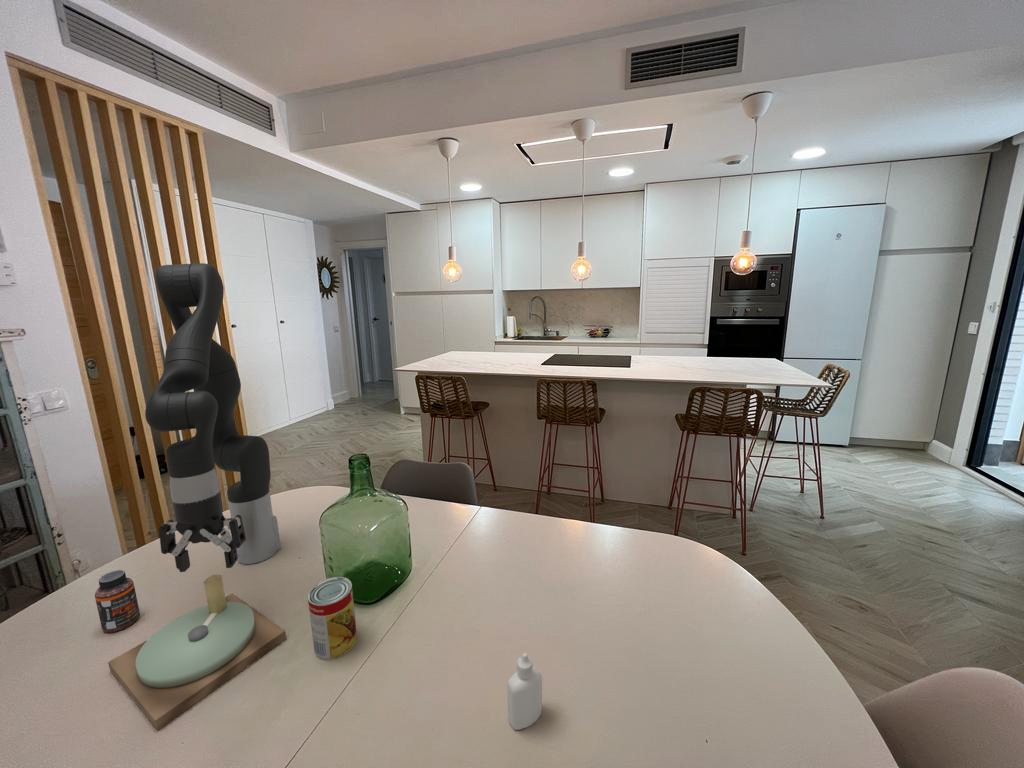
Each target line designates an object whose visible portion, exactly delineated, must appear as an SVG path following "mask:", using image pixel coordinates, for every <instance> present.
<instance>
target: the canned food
mask: <svg viewBox="0 0 1024 768" xmlns="http://www.w3.org/2000/svg"><path fill="white" fill-rule="evenodd" d="M353 592H354V591H353V583H352V581H351V580H350V579H349V578H347V577H344V576H335V577H334V576H333V577H328V578H326V579H325V578H324V579H323V580H321V581H319V582H318V583H316V584H315V585H313V586H312V587H311V588H310V589H309V591H308V594H307V601H308V602H307V604H308V611H309V619H310V620H309V621H310V627H311V636H312V641H313V642H312V643H313V644H312V645H313V649H314V654H315V655H316V656H315V657H317V658H319V659H321V660H325V661H327V660H330V661H332V660H334V659H337V658H340V656H341V657H343V656H344V655H346V654H347V653H349V652H350V651H351V650H352V649H353V647H354V646H355V645H356V642H357V640H358V632H357V623H356V614H355V613H356V612H355V602H354V593H353Z"/></svg>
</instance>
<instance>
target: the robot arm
mask: <svg viewBox="0 0 1024 768" xmlns="http://www.w3.org/2000/svg"><path fill="white" fill-rule="evenodd" d="M155 282H156V283H155V284H156V287H157V291H158V293H159V296H160V298H161V300H162V303H163V306H164V308H165V310H166V313H167V315H168V318H169V319H170V321H171V324H172V326H173V329H174V330H175V332H174V333H173V335H172V336H171V337H170V339H169V341H168V342H167V345H166V349H165V355H164V362H163V364H164V365H163V369H162V370H163V372H162V374H161V377H160V378H159V381H158V382H157V385H156V386H155V388H154V390H153V392H152V393H151V395H150V396H149V399H148V401H147V403H146V406H145V413H144V417H145V420H146V422H147V424H148V426H149V427H150V428H151V429H153V430H154V431H156V432H161V433H162V432H175V431H184V430H192V429H193V430H194V429H195V435H194V436H192V437H189V438H186V439H182V440H179V441H177V442H174V443H172V444H169V446H168V447H167V448H166V451H165V457H166V463H167V467H168V469H167V470H168V475H169V489H170V490H169V491H170V496H171V502H172V509H173V515H174V519H175V521H174V520H173V519H168V520H167V521H165V522H164V523H162V525H160V526H159V527H158V533H159V543H160V551H161V554H164V555H167V554H170V555H172V556H174V561H175V567H176V569H177V570H178V571H179V573H186V571H188V570H189V568H190V567H191V562H190V561H191V560H190V556H189V555H190V554H189V550H188V549H186V548H187V547H188V546H189V544H190V543H191V544H199V543H212V544H213V545H215V546H216V547H217V546H219V547H220V549H222V550H223V551H224V552H223V554H224V560H225V568H226V569H231V568H233V566H234V565H235V564H236V562H237V561H238V562H239V563H240V564H243V565H251V564H252V565H253V564H257V563H258V564H259V563H261V562H263V561H265V560H268V559H269V558H271V557H272V556H274V555H275V554H276V553H277V552H278V551H279V550H281V549H282V545H281V540H280V539H281V538H280V531H279V524H278V523H279V522H278V517H277V516H276V515H274V513H273V506H272V501H271V500H272V498H271V492H270V482H271V478H272V477H271V475H272V473H271V462H270V461H271V460H270V450H269V446H268V444H267V441H266V440H265V439H264V438H263V437H261V436H257V435H247V434H246V435H244V434H239V431H238V429H237V426H236V423H235V418H234V411H235V407H236V405H237V403H238V399H239V396H240V392H241V387H242V383H241V379H240V376H239V375H240V374H239V371H238V368H237V363H236V361H235V359H234V358H233V356H232V355H231V354H230V352H228V350H227V349H226V348H224V347H223V346H222V345H221V344H219V342H217V341H216V340H214V339H213V337H214V334H215V330H216V327H217V323H218V320H219V315H220V312H221V309H222V305H223V301H224V283H223V279H222V277H221V275H220V272H219V271H218V270H217V268H216V267H215V266H214V265H212V264H210V263H206V262H205V263H203V262H202V263H201V262H199V263H197V262H196V263H180V264H179V263H177V264H165V265H160V266H158V267H157V268H156V270H155ZM191 308H195V310H194V311H191ZM192 390H194V391H192ZM216 467H217V468H218V469H220V470H222V471H227V472H235V473H236V472H239V475H240V476H239V477H240V479H239V480H238V481H237V482H234V483H233V484H231V485H230V486H228V488H227V490H226V496H227V502H228V507H229V508H228V509H229V513H230V517H228V518H226V517H225V516H224V514H223V510H224V509H223V508H224V507H223V500H222V494H221V493H222V492H221V485H220V479H219V475H218V473H217V468H216ZM225 526H226V527H227V529H226V528H225ZM176 531H177V532H178V533H179V534H180V535H181V538H180V539H179V541H178V542H177V540H176ZM219 535H220V537H219Z"/></svg>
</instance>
